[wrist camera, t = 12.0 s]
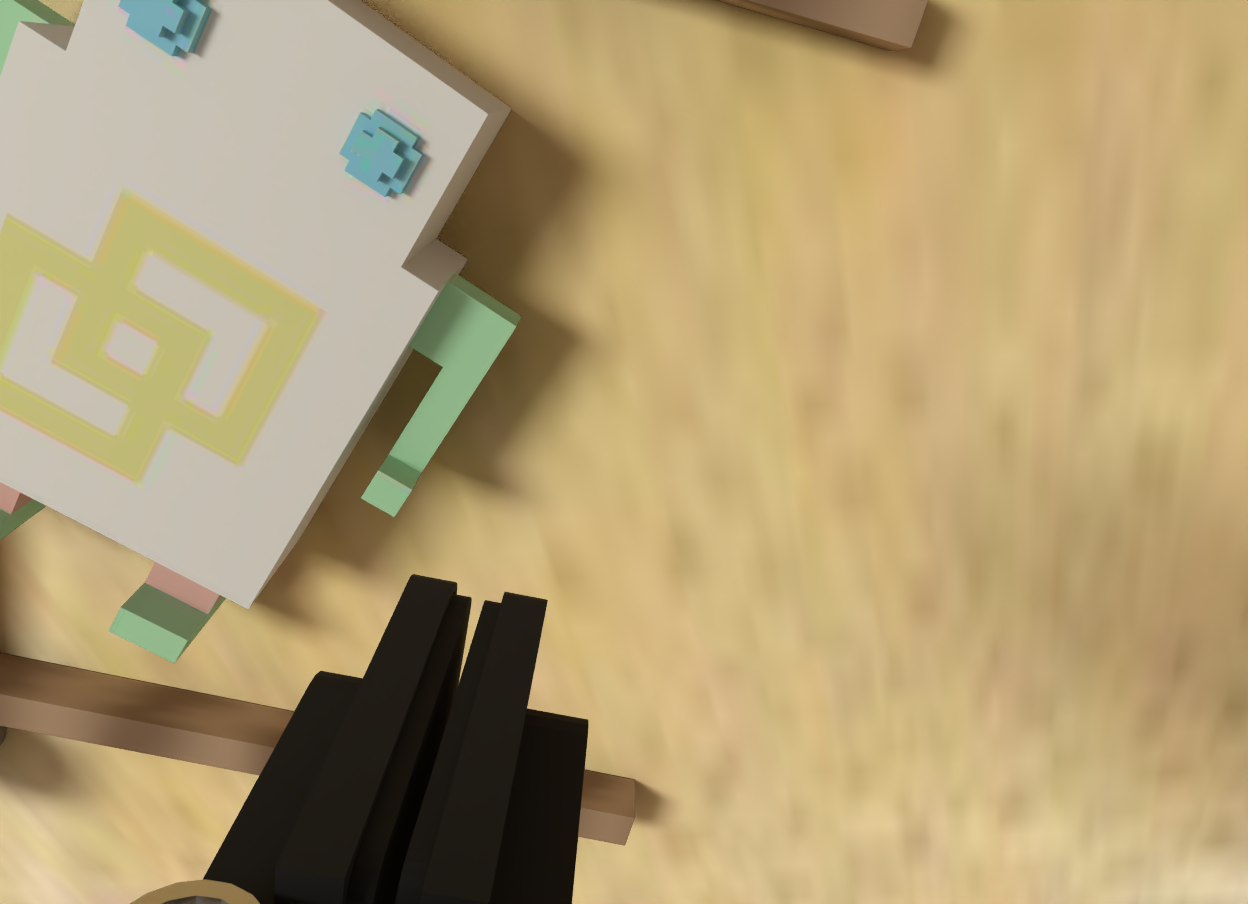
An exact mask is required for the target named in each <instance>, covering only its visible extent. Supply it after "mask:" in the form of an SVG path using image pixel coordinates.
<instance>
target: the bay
mask: <svg viewBox="0 0 1248 904" xmlns="http://www.w3.org/2000/svg"><path fill="white" fill-rule="evenodd" d="M718 1H722V2H725V3H729V4H732V5H735V6H739V7H742V8H746V9H749V10H753V11H756V12H759V13H763V14H766V15H770V16H773V17H777V18H780V19H783V20H787V21H790V22H794V23H797V24H801V25H804V26H807V27H811V28H814V29H818V30H821V31H825V32H828V33H831V34H835V35H838V36H842V37H845V38H849V39H852V40H855V41H859V42H862V43H866V44H869V45H873V46H876V47H879V48H883V49H886V50H898V49H907V48H911V47H912V44H913V41H914V39H915V36H916V33H917V30H918V28H919V25H920V22H921V19H922V16H923V14H924V11H925V8H926V5H927V2H928V0H718ZM293 713H294V712H293V711H288V710H283V709H278V708H273V707H268V706H263V705H258V704H253V703H248V702H243V701H238V700H233V699H228V698H223V697H218V696H213V695H208V694H203V693H198V692H193V691H188V690H183V689H178V688H173V687H168V686H163V685H158V684H153V683H148V682H143V681H138V680H133V679H128V678H123V677H118V676H113V675H108V674H103V673H98V672H93V671H88V670H83V669H78V668H73V667H68V666H63V665H58V664H53V663H48V662H43V661H38V660H33V659H28V658H23V657H18V656H13V655H8V654H3V653H0V745H1V744H2V743H3V741H4V739H5V736H6V727H10V728H15V729H21V730H26V731H31V732H36V733H41V734H47V735H52V736H57V737H62V738H67V739H73V740H78V741H83V742H88V743H93V744H99V745H104V746H109V747H114V748H120V749H125V750H130V751H135V752H140V753H146V754H151V755H156V756H161V757H166V758H172V759H177V760H182V761H187V762H192V763H198V764H203V765H208V766H213V767H218V768H224V769H229V770H234V771H239V772H244V773H250V774H255V775H260V774H261V772H262V770H263V768H264V767H265V765H266V763H267V761H268V759H269V757H270V756H271V754H272V752H273V750H274V748H275V746H276V745H277V743H278V741H279V739H280V737H281V735H282V734H283V732H284V730H285V728H286V726H287V724H288V723H289V721H290V719H291V717H292V715H293ZM634 819H635V780H633V779H628V778H623V777H618V776H613V775H608V774H603V773H598V772H593V771H588V770H584V779H583V790H582V800H581V811H580V821H579V832H578V837H583V838H588V839H593V840H599V841H604V842H609V843H614V844H619V845H625V844H626V841H627V839H628V836H629V833H630V830H631V827H632V825H633V822H634Z"/></svg>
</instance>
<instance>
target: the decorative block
mask: <svg viewBox="0 0 1248 904" xmlns="http://www.w3.org/2000/svg"><path fill="white" fill-rule="evenodd" d="M511 109H512V108H510V107H509V106H508V105H506V104H505V103H503V102H502V101H501V100H499V99H498V98H496V97H495V96H494V95H492V94H491V93H489V92H488V91H487V90H485V89H484V88H482V87H481V86H480V85H478V84H477V83H475V82H474V81H473V80H471V79H470V78H468V77H467V76H466V75H464V74H463V73H461V72H460V71H459V70H457V69H456V68H455V67H453V66H452V65H450V64H449V63H448V62H446V61H445V60H443V59H442V58H441V57H439V56H438V55H436V54H435V53H434V52H432V51H431V50H429V49H428V48H427V47H425V46H424V45H422V44H421V43H420V42H418V41H417V40H415V39H414V38H413V37H411V36H410V35H409V34H407V33H406V32H404V31H403V30H402V29H400V28H399V27H397V26H396V25H395V24H393V23H392V22H390V21H389V20H388V19H386V18H385V17H383V16H382V15H381V14H379V13H378V12H376V11H375V10H374V9H372V8H371V7H369V6H368V5H367V4H365V3H364V2H362V1H361V0H84V2H83V5H82V7H81V10H80V13H79V16H78V18H77V21H76V24H73V23H72V22H70V21H69V20H67V19H66V18H64V17H62V16H61V15H59V14H58V13H56V12H55V11H53V10H52V9H50V8H49V7H47V6H46V5H44V4H43V3H41V2H39V1H38V0H0V539H2V538H3V537H4V536H6V535H7V534H9V533H10V532H11V531H13V530H14V529H16V528H17V527H18V526H20V525H21V524H22V523H24V522H25V521H27V520H28V519H29V518H31V517H32V516H33V515H35V514H36V513H38V512H39V511H40V510H42V509H43V508H45V506H48V507H50V508H52V509H54V510H56V511H57V512H59V513H61V514H63V515H65V516H67V517H69V518H71V519H73V520H75V521H77V522H79V523H81V524H83V525H85V526H87V527H89V528H91V529H92V530H94V531H96V532H98V533H100V534H102V535H104V536H106V537H108V538H110V539H112V540H114V541H116V542H118V543H120V544H122V545H124V546H126V547H127V548H129V549H131V550H133V551H135V552H137V553H139V554H141V555H143V556H145V557H147V558H149V559H151V560H153V561H155V564H154V566H153V568H152V570H151V572H150V574H149V575H148V577H147V579H146V581H145V583H144V584H143V585H142V586H141V587H140V588H139V589H138V590H137V591H136V592H135V593H134V594H133V595H132V596H131V597H130V598H129V599H128V600H127V601H126V602H125V603H124V604H123V605H122V606H121V608H120V610H119V612H118V614H117V615H116V617H115V619H114V621H113V623H112V625H111V627H110V629H109V632H111V633H113V634H115V635H117V636H119V637H121V638H124V639H126V640H128V641H130V642H132V643H134V644H136V645H138V646H140V647H142V648H144V649H146V650H148V651H150V652H152V653H154V654H156V655H158V656H160V657H162V658H165V659H167V660H169V661H171V662H173V663H175V662H176V661H177V660H178V658H179V657H180V656H181V654H182V653H183V652H184V651H185V649H186V648H187V647H188V646H189V644H190V643H191V642H192V641H193V639H194V638H195V637H196V635H197V634H198V633H199V632H200V630H201V629H202V628H203V627H204V625H205V624H206V623H207V622H208V620H209V619H210V618H211V616H212V615H213V614H214V613H215V611H216V610H217V609H218V608H219V606H220V605H221V604H222V603H223V601H224V600H225V598H227V599H229V600H231V601H232V602H234V603H236V604H238V605H240V606H242V607H244V608H246V609H249V608H250V606H251V605H252V604H253V602H254V601H255V600H256V598H257V597H258V595H259V594H260V593H261V591H262V590H263V589H264V587H265V586H266V584H267V583H268V582H269V580H270V579H271V578H272V576H273V575H274V574H275V572H276V571H277V569H278V568H279V567H280V565H281V564H282V563H283V561H284V560H285V558H286V557H287V556H288V554H289V553H290V552H291V550H292V549H293V547H294V546H295V545H296V543H297V542H298V540H299V539H300V537H301V535H302V534H303V532H304V530H305V529H306V527H307V525H308V524H309V522H310V521H311V519H312V517H313V516H314V514H315V512H316V511H317V509H318V507H319V506H320V504H321V502H322V501H323V499H324V497H325V496H326V494H327V492H328V491H329V489H330V487H331V486H332V484H333V482H334V481H335V479H336V477H337V476H338V474H339V472H340V471H341V469H342V467H343V466H344V464H345V462H346V461H347V459H348V458H349V456H350V454H351V453H352V451H353V449H354V448H355V446H356V444H357V443H358V441H359V439H360V438H361V436H362V434H363V433H364V431H365V429H366V428H367V426H368V424H369V423H370V421H371V419H372V418H373V416H374V414H375V413H376V411H377V409H378V408H379V406H380V404H381V403H382V401H383V399H384V398H385V396H386V395H387V393H388V391H389V390H390V388H391V386H392V385H393V383H394V381H395V380H396V378H397V376H398V375H399V373H400V371H401V370H402V368H403V366H404V365H405V363H406V361H407V360H408V358H409V356H410V355H411V353H412V351H413V350H416V351H418V352H419V353H421V354H422V355H424V356H426V357H427V358H429V359H431V360H432V361H434V362H435V363H437V364H439V365H440V366H442V367H443V368H442V370H441V371H440V373H439V374H438V376H437V378H436V379H435V381H434V382H433V384H432V386H431V387H430V389H429V391H428V392H427V394H426V395H425V397H424V399H423V400H422V402H421V403H420V405H419V407H418V408H417V410H416V411H415V413H414V415H413V416H412V418H411V419H410V421H409V423H408V424H407V426H406V427H405V429H404V431H403V432H402V434H401V435H400V437H399V439H398V440H397V442H396V443H395V445H394V447H393V448H392V450H391V451H390V453H389V455H388V456H387V458H386V459H385V461H384V462H383V464H382V465H381V467H380V468H379V470H378V471H377V473H376V475H375V476H374V478H373V479H372V481H371V483H370V484H369V486H368V487H367V489H366V491H365V492H364V494H363V495H362V497H361V499H363V500H365V501H366V502H368V503H370V504H372V505H373V506H375V507H377V508H379V509H381V510H382V511H384V512H386V513H388V514H389V515H391V516H393V517H395V515H396V514H397V512H398V511H399V509H400V508H401V506H402V505H403V503H404V502H405V500H406V499H407V497H408V496H409V494H410V492H411V491H412V489H413V487H414V486H415V484H416V482H417V480H418V478H419V476H420V475H421V473H422V471H423V470H424V468H425V467H426V465H427V464H428V462H429V460H430V459H431V457H432V456H433V454H434V453H435V451H436V450H437V448H438V447H439V445H440V444H441V442H442V440H443V439H444V437H445V436H446V434H447V433H448V431H449V430H450V428H451V427H452V425H453V424H454V422H455V420H456V419H457V417H458V416H459V414H460V413H461V411H462V410H463V408H464V407H465V405H466V404H467V402H468V400H469V399H470V397H471V396H472V394H473V393H474V391H475V390H476V388H477V387H478V385H479V384H480V382H481V380H482V379H483V377H484V376H485V374H486V373H487V371H488V370H489V368H490V367H491V365H492V364H493V362H494V360H495V359H496V357H497V356H498V354H499V353H500V351H501V350H502V348H503V347H504V345H505V344H506V342H507V340H508V339H509V337H510V336H511V334H512V333H513V331H514V330H515V328H516V327H517V324H518V322H519V320H520V318H521V316H520V315H519V314H517V313H516V312H514V311H513V310H511V309H510V308H508V307H507V306H505V305H503V304H502V303H500V302H499V301H497V300H496V299H494V298H493V297H491V296H490V295H488V294H487V293H485V292H484V291H482V290H481V289H479V288H477V287H476V286H474V285H473V284H471V283H470V282H468V281H467V280H465V279H464V278H462V277H461V276H459V273H460V272H461V270H462V268H463V267H464V265H465V264H466V262H467V260H468V259H466V258H465V257H463V256H462V255H460V254H459V253H457V252H456V251H454V250H453V249H451V248H450V247H448V246H447V245H445V244H444V243H442V242H441V241H439V240H438V239H436V238H437V237H438V235H439V233H440V232H441V230H442V228H443V226H444V225H445V223H446V221H447V219H448V218H449V216H450V214H451V213H452V211H453V209H454V207H455V206H456V204H457V202H458V201H459V199H460V197H461V195H462V194H463V192H464V190H465V188H466V187H467V185H468V183H469V182H470V180H471V178H472V176H473V175H474V173H475V171H476V170H477V168H478V166H479V164H480V163H481V161H482V159H483V158H484V156H485V154H486V152H487V151H488V149H489V147H490V145H491V144H492V142H493V140H494V139H495V137H496V135H497V133H498V132H499V130H500V128H501V127H502V125H503V123H504V121H505V120H506V118H507V116H508V114H509V113H510V111H511Z"/></svg>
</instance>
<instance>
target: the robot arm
mask: <svg viewBox="0 0 1248 904" xmlns="http://www.w3.org/2000/svg"><path fill="white" fill-rule="evenodd" d="M547 601H548V600H545V599H540V598H535V597H530V596H524V595H519V594H514V593H509V592H505V593H504V596H503V599H502V602H501V603H497V602H492V601H487V600H485V601H484V604H483V607H482V611H481V614H480V617H479V620H478V624H477V627H476V630H475V633H474V637H473V640H472V643H471V646H470V650H469V653H468V656H467V659H466V663H465V666H464V669H463V672H462V676H461V679H460V682H459V678H460V671H461V665H462V659H463V653H464V646H465V640H466V634H467V627H468V621H469V615H470V608H471V597H466V596H461V595H457V583H456V582H451V581H446V580H441V579H436V578H430V577H425V576H420V575H415V574H413V575H412V576H411V577H410V579H409V580H408V583H407V585H406V587H405V589H404V591H403V593H402V596H401V598H400V600H399V602H398V604H397V606H396V608H395V611H394V613H393V615H392V617H391V619H390V621H389V623H388V626H387V628H386V630H385V632H384V634H383V636H382V639H381V641H380V643H379V645H378V647H377V649H376V651H375V654H374V656H373V658H372V660H371V662H370V664H369V667H368V669H367V671H366V673H365V675H364V677H363V679H362V678H357V677H352V676H346V675H341V674H335V673H330V672H324V671H320V672H319V673H317V674H316V675H315V677H314V678H313V680H312V681H311V683H310V684H309V686H308V688H307V690H306V691H305V693H304V695H303V697H302V699H301V701H300V702H299V704H298V706H297V708H296V710H295V712H294V713H293V715H292V717H291V719H290V721H289V723H288V724H287V726H286V728H285V730H284V732H283V734H282V735H281V737H280V739H279V741H278V743H277V745H276V746H275V748H274V750H273V752H272V754H271V756H270V757H269V759H268V761H267V763H266V765H265V767H264V768H263V770H262V772H261V774H260V776H259V778H258V779H257V781H256V783H255V785H254V787H253V789H252V790H251V792H250V794H249V796H248V798H247V799H246V801H245V803H244V805H243V807H242V809H241V810H240V812H239V814H238V816H237V818H236V820H235V821H234V823H233V825H232V827H231V829H230V831H229V832H228V834H227V836H226V838H225V840H224V842H223V843H222V845H221V847H220V849H219V851H218V853H217V854H216V856H215V858H214V860H213V862H212V864H211V865H210V867H209V869H208V871H207V873H206V875H205V876H204V878H203V880H196V881H187V882H179V883H174V884H171V885H169V886H166V887H163V888H160V889H158V890H155V891H152V892H149V893H147V894H145V895H143V896H142V897H140V898H138V899H137V900H135V901H134V902H132V903H130V904H572V895H573V884H574V874H575V863H576V853H577V842H578V832H579V821H580V811H581V800H582V790H583V779H584V769H585V758H586V748H587V737H588V720H587V719H581V718H576V717H570V716H565V715H559V714H554V713H548V712H543V711H537V710H532V709H527V705H528V700H529V695H530V689H531V684H532V679H533V674H534V669H535V663H536V658H537V653H538V648H539V643H540V637H541V632H542V627H543V622H544V617H545V611H546V606H547ZM458 684H459V685H458Z"/></svg>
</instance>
